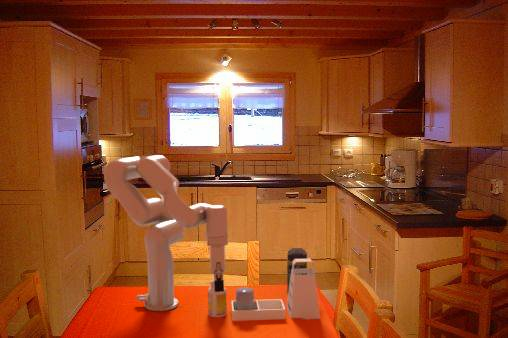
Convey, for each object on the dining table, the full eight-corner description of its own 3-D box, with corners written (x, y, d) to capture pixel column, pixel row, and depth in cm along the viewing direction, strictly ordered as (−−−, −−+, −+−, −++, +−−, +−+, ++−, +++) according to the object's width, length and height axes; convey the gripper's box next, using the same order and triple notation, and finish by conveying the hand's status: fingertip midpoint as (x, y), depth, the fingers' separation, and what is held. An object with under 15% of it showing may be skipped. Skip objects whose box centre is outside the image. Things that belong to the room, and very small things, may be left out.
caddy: (232, 322, 183) (232, 311, 182) (231, 311, 192) (231, 300, 192) (285, 320, 184) (285, 309, 184) (281, 309, 194) (281, 299, 193)
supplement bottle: (229, 312, 191) (229, 278, 190) (222, 319, 185) (222, 284, 183) (212, 310, 193) (212, 276, 192) (205, 317, 187) (204, 282, 186)
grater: (286, 308, 195) (286, 256, 193) (313, 307, 196) (314, 255, 194) (290, 319, 185) (291, 264, 183) (319, 318, 186) (320, 264, 184)
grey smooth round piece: (236, 318, 184) (236, 294, 183) (235, 311, 191) (235, 287, 190) (254, 318, 185) (254, 293, 184) (253, 310, 191) (253, 287, 190)
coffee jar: (286, 290, 215) (287, 246, 212) (306, 290, 214) (306, 246, 212) (286, 298, 205) (287, 252, 203) (307, 299, 205) (307, 253, 202)
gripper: (206, 235, 194) (208, 279, 196) (206, 246, 177) (208, 295, 179) (227, 234, 195) (228, 278, 196) (228, 245, 177) (230, 294, 179)
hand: (219, 286), depth 188 cm, fingers open, 9 cm apart
